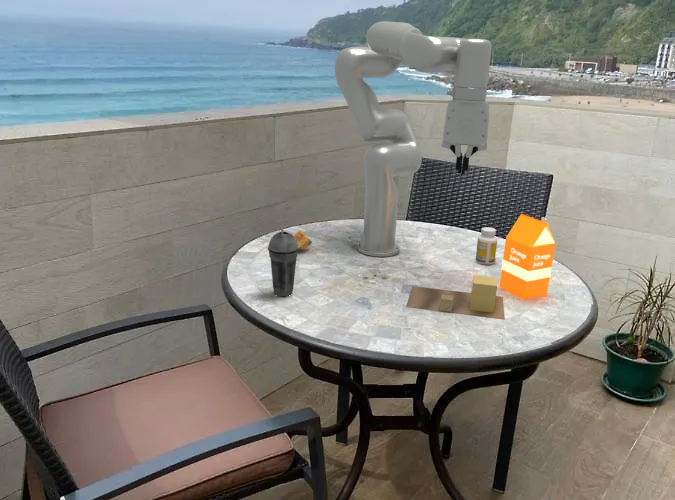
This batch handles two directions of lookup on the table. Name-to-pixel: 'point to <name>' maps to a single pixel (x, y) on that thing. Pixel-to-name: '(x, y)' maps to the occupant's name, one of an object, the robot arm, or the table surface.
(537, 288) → the orange juice
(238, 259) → the table surface
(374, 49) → the robot arm
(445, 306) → the wooden stub
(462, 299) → the board
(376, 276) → the set of tan pieces
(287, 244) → the beverage cup
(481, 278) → the tan rectangular block
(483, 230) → the supplement bottle
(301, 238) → the pyrite
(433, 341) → the table surface
